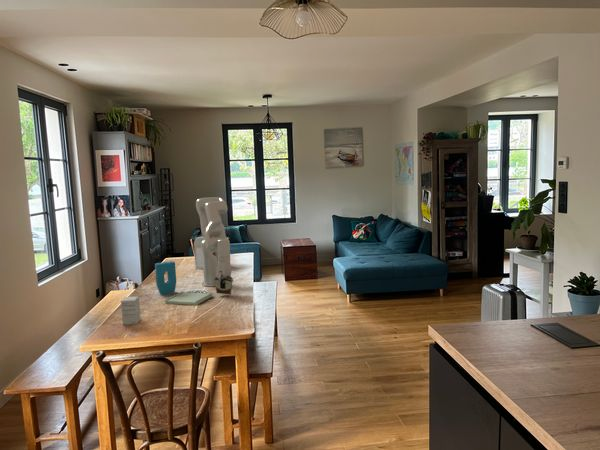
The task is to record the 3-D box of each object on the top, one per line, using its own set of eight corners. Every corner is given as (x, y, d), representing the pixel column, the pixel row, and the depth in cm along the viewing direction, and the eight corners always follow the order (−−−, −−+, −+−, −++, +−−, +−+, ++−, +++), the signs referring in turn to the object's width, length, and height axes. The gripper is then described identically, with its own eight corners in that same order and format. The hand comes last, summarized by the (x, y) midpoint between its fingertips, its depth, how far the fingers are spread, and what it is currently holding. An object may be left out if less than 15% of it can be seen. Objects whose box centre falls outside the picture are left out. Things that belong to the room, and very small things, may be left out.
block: (158, 295, 280) (156, 264, 278) (156, 294, 284) (154, 263, 282) (177, 292, 286) (175, 262, 284) (175, 290, 291) (173, 261, 288)
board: (182, 294, 280) (182, 291, 280) (212, 296, 274) (212, 292, 274) (165, 303, 262) (165, 299, 262) (196, 305, 256) (196, 301, 256)
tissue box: (224, 266, 365) (223, 234, 362) (209, 270, 350) (207, 237, 347) (210, 265, 373) (208, 233, 370) (194, 269, 359) (192, 236, 356)
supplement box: (126, 320, 233) (124, 296, 232) (141, 319, 234) (139, 296, 232) (122, 324, 226) (120, 300, 224) (137, 323, 226) (135, 299, 225)
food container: (236, 292, 276) (236, 276, 274) (232, 294, 270) (232, 279, 268) (219, 290, 279) (218, 275, 278) (214, 293, 274) (214, 277, 272)
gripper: (225, 255, 281) (226, 282, 283) (211, 261, 264) (213, 290, 267) (235, 256, 279) (236, 283, 281) (223, 262, 262) (224, 291, 265)
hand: (225, 286), depth 274 cm, fingers closed on food container, 6 cm apart
